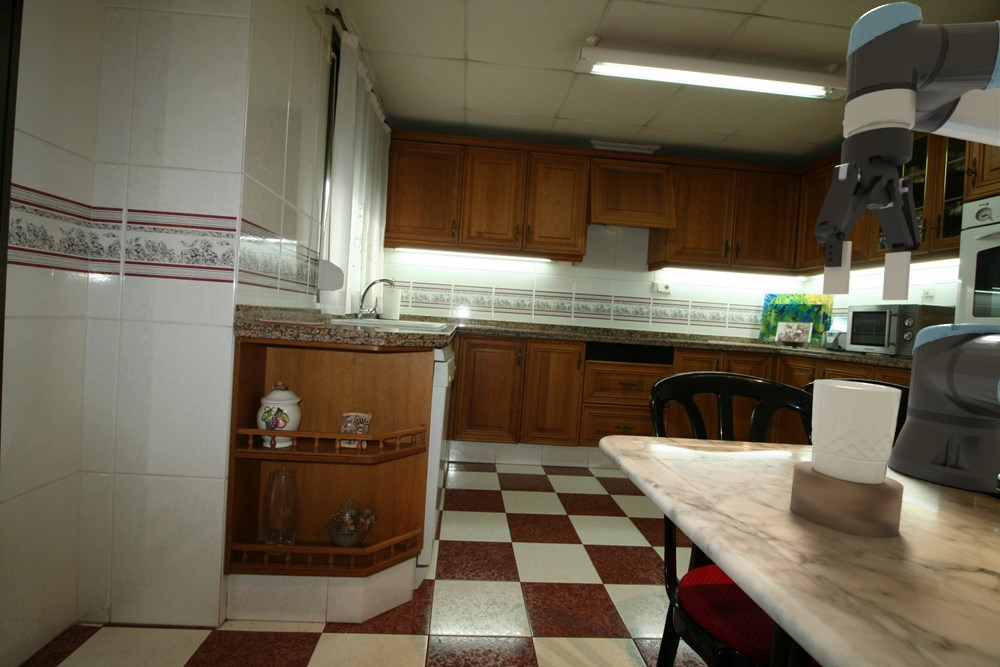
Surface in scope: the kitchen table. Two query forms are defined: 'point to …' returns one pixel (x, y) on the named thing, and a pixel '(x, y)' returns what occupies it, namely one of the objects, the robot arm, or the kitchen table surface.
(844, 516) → the walnut block
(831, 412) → the white cup
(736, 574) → the kitchen table surface
